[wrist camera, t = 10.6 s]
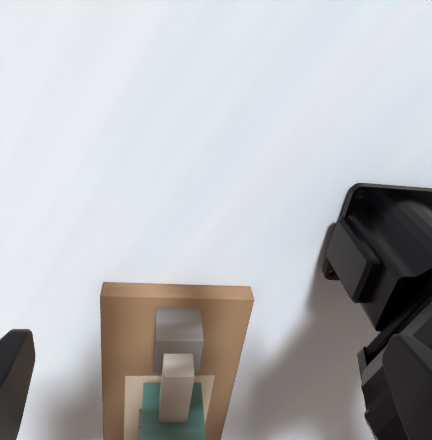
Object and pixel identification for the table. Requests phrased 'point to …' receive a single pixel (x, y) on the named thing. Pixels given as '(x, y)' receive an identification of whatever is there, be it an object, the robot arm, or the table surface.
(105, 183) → the table surface
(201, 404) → the shaft coupling stand
